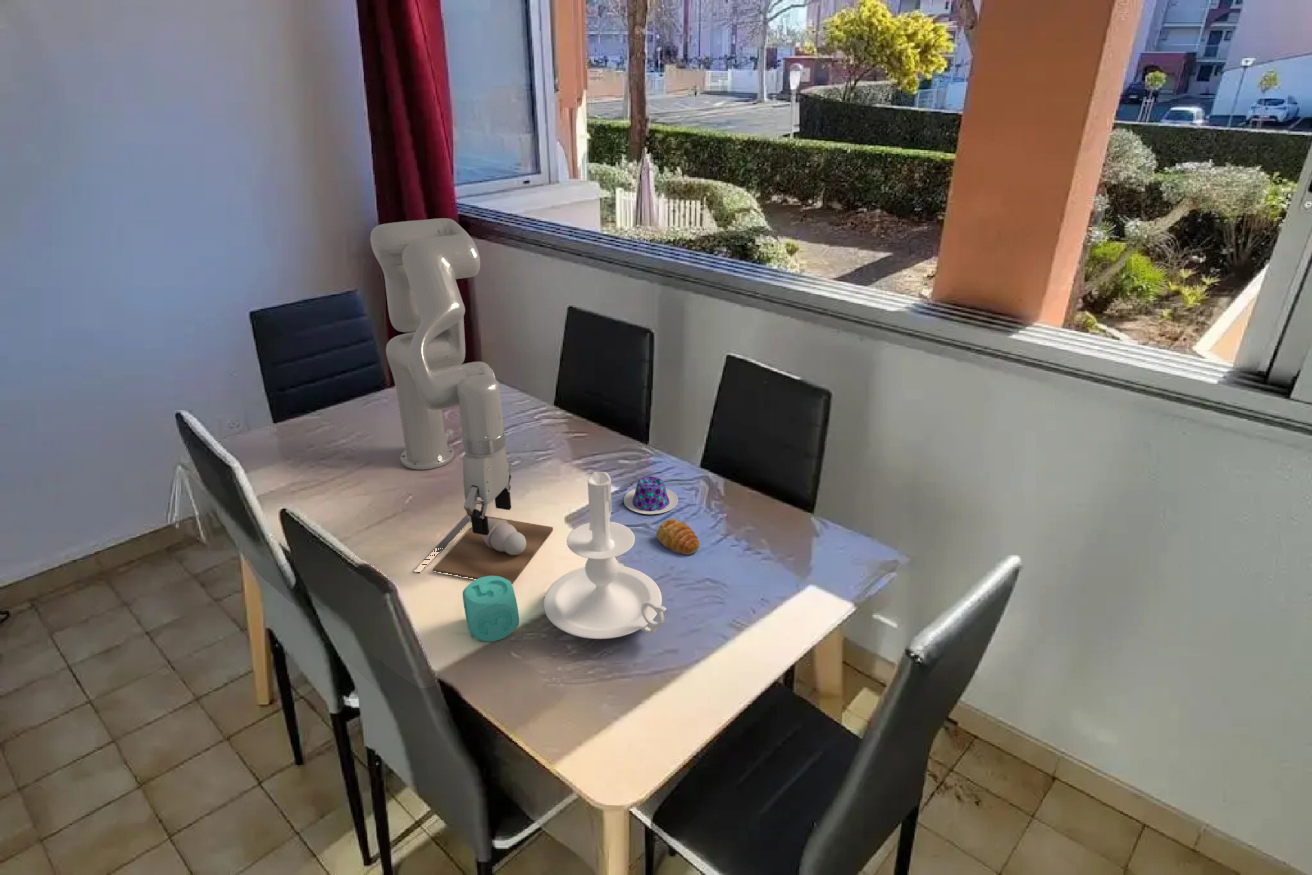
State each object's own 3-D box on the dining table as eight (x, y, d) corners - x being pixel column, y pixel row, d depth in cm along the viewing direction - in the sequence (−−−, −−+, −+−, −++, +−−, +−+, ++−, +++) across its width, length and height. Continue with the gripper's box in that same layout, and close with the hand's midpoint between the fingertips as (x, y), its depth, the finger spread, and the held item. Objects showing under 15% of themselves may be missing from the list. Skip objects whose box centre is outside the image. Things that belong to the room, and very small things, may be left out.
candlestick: (621, 684, 123) (618, 533, 111) (520, 616, 138) (507, 476, 126) (703, 620, 137) (708, 480, 125) (603, 564, 152) (599, 434, 139)
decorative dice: (465, 618, 138) (460, 581, 134) (510, 607, 140) (507, 570, 137) (473, 647, 131) (468, 608, 127) (520, 635, 134) (517, 597, 130)
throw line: (469, 513, 169) (469, 512, 168) (476, 514, 168) (475, 513, 168) (413, 572, 150) (413, 570, 149) (420, 573, 149) (420, 572, 149)
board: (483, 518, 167) (482, 515, 166) (552, 530, 163) (552, 527, 162) (433, 572, 150) (433, 568, 149) (510, 587, 145) (509, 583, 145)
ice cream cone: (467, 531, 160) (523, 564, 154) (450, 527, 155) (508, 561, 149) (481, 504, 161) (537, 536, 155) (465, 499, 155) (523, 532, 149)
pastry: (708, 548, 157) (708, 532, 155) (682, 561, 153) (682, 545, 152) (677, 528, 164) (678, 513, 162) (652, 540, 160) (652, 524, 158)
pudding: (621, 516, 168) (621, 495, 166) (625, 488, 179) (625, 468, 177) (677, 517, 168) (678, 496, 165) (678, 489, 179) (678, 469, 176)
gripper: (487, 420, 154) (495, 496, 161) (441, 459, 139) (452, 541, 147) (522, 424, 152) (529, 501, 160) (480, 465, 137) (489, 548, 145)
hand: (492, 520), depth 153 cm, fingers open, 9 cm apart
